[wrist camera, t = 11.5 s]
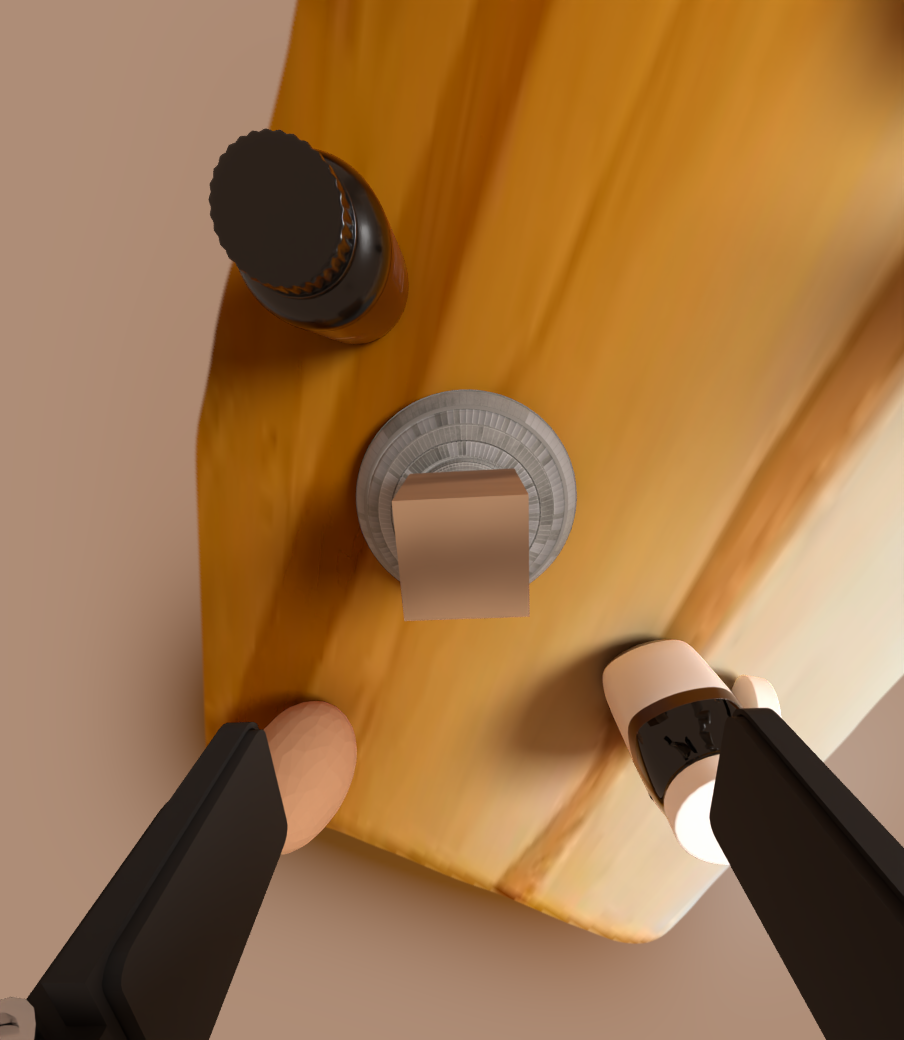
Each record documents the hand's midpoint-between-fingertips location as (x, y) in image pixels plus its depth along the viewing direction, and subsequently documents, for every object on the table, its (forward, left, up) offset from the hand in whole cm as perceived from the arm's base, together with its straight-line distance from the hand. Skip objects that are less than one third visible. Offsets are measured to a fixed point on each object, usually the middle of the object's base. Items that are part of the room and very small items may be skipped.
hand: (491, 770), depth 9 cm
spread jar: (+16, +16, -23) cm, 32 cm away
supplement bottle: (-14, -6, -23) cm, 27 cm away
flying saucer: (0, -1, -23) cm, 23 cm away
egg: (+18, -13, -23) cm, 32 cm away
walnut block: (0, -1, -17) cm, 17 cm away
